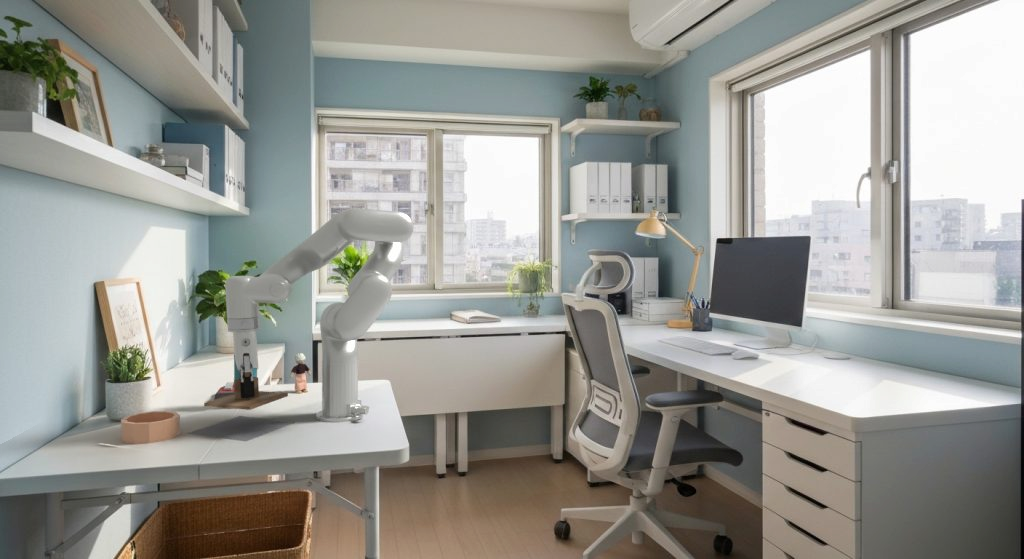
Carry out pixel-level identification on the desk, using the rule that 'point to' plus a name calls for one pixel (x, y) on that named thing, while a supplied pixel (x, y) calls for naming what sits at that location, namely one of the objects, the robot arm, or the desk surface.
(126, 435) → the bowl
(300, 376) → the grandmother figurine
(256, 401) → the lid
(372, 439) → the desk surface
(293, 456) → the desk surface
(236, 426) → the mat
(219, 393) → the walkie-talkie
